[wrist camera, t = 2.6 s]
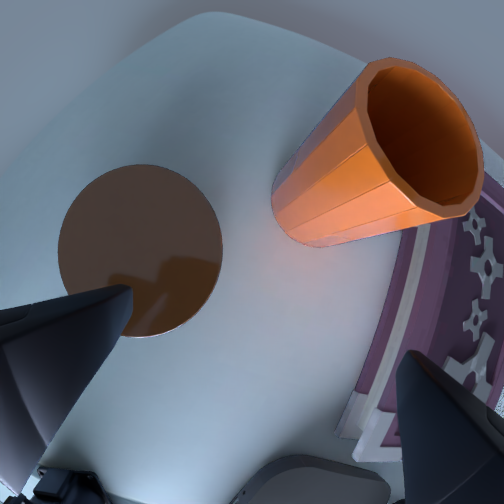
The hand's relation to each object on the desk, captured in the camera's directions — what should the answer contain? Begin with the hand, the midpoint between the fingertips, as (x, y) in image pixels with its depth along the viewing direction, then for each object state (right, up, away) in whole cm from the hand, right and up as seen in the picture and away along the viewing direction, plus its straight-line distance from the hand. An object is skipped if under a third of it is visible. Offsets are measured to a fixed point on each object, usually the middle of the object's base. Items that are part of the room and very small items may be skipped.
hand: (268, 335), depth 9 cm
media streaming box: (+4, -22, +11) cm, 25 cm away
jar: (-7, +2, +11) cm, 14 cm away
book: (+18, -3, +15) cm, 23 cm away
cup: (+4, +6, +14) cm, 16 cm away
